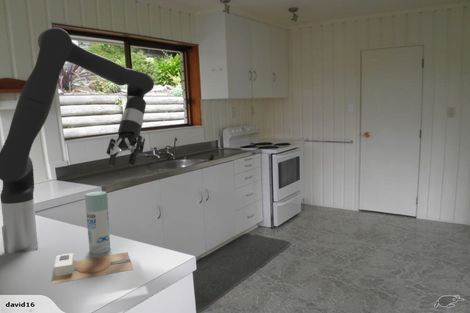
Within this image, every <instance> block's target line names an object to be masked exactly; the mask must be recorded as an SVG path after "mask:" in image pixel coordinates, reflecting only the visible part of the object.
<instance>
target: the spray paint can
mask: <svg viewBox="0 0 470 313" xmlns="http://www.w3.org/2000/svg"><path fill="white" fill-rule="evenodd" d="M84 196H85V197H84V200H85V210H86V223H87V224H86V225H87V237H88V250H89V253H90V254H92V255H93V254H94V255H95V254H96V255H98V254H104V253H107V252H108V251H110V250H111V239H110V238H111V237H110V236H111V235H110V223H109V203H108V193H107V191H98V190H97V191H92V192H87V193H85V194H84Z"/></svg>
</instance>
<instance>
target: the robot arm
mask: <svg viewBox="0 0 470 313" xmlns="http://www.w3.org/2000/svg"><path fill="white" fill-rule="evenodd" d="M72 40H73V39H72V37H71V36H70V34H69V33H68V31H66V30H64V29H62V28H60V27H49V28H47V29H45V30H44V31H41V33H40V34H39V36H38V39H37V44H38V47H39V50H38V55H37V59H36V62H35V66H34V67H33V69H32V71H31V73H30V75H29V77H28V78H27V79H26V82H25V84H24V85H23V88H22V90H21V92H20V94H19V96H18V101H17V103H16V106H15V110H14V113H13V116H12V119H11V122H10V127H9V130H8V134H7V137H6V139H5V141H4V143H3V146H2V147H1V150H0V180H1V181H2V189H1V192H0V204H1V215H2V216H1V217H2V227H1V233H2V243H3V254H4V255H14V254H19V253H26V252H33V251H37V250H38V249H39V242H38V234H37V233H38V232H37V220H36V210H35V199H34V198H35V197H34V191H35V178H34V177H35V176H34V174H35V173H34V165H33V161H32V158H31V157H30V153H31V149H32V146H33V144H34V141H35V140H36V138H37V136H38V135H39V133H40V132H41V130H42V128H43V127H44V125H45V123H46V121H47V119H48V118H49V117H48V116H49V114H50V111H51V109H52V105H53V103H54V102H53V101H54V98H55V94H56V92H57V88H58V83H59V79H60V76H61V73H62V70H63V68H64V66H65V65H66V62H67V63H71V64H73V65H75V66H78V67H81V68H82V69H84V70H86V71H89V72H90V73H93V74H94V75H96V76H97V77H101V78H102V79H104V80H107V81H108V82H111V83H113V84H115V85H116V86H125V85H126V86H127V85H128V86H127V88H126V104H125V107H124V110H123V112H122V116H121V119H120V121H119V122H120V124H119V127H118V130H117V134H118V138H117V139H114V138H110V141H109V143H108V146H107V150H106V155H109V161H108V166H110V167H112V168H114V167H116V163H117V158H118V156H119V154H122V153H123V152H124V151H130V154H129V156H128V161H127V162H128V163H127V164H128V165H129V166H130V167H131V166H134V165H135V164H136V162H137V157H138V155H140V154H143V152H144V148H145V141H146V138H145V137H143V136H142V135H141V131H142V128H143V123H144V117H145V116H144V115H145V111H146V107H147V102H146V100H145V99H144V97H145V95H147V94H148V93H150V92H151V91H152V90H153V88H154V87H155V86H154V85H155V83H154V80H153V78H152V77H151V76H150V75H148V74H147V73H145V72H143V71H140V70H136V69H133V68H128V67H125V66H124V65H121V64H120V63H118V62H115V61H113V60H112V59H109V58H107V57H104V56H102V55H99V54H97V53H94V52H92V51H89V50H88V49H85V48H83V47H81V46H79V45H77V44H76V43H75V42H73V41H72Z"/></svg>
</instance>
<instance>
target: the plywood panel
mask: <svg viewBox="0 0 470 313" xmlns="http://www.w3.org/2000/svg"><path fill="white" fill-rule="evenodd" d="M132 264H133V263H132V262H131V258H130V255H129V252H128V251H126V252H120V253H114V254H109V255H102V256H95V257H89V258H88V257H87V258H82V259H76V260H74V265H73V274H67V275H62V276H56V277H55V275H54V277H53V282H52V284H53V285H55V284H61V283H67V282H72V281H78V280H84V279H89V278H93V277H101V276H106V275H111V274H117V273H121V272H128V271H133V270H134V268H133V265H132Z"/></svg>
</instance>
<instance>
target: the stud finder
mask: <svg viewBox="0 0 470 313" xmlns="http://www.w3.org/2000/svg"><path fill="white" fill-rule="evenodd" d="M74 261H75V258H74V253H73V252H71V253H65V254H58V255H56V257H55V261H54V264H53V266H54V267H53V269H54V270H53V272H54V276H55V277H56V276H62V275H67V274H73V265H74Z"/></svg>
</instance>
